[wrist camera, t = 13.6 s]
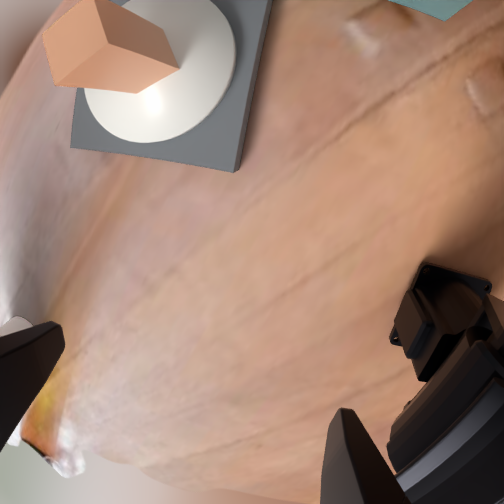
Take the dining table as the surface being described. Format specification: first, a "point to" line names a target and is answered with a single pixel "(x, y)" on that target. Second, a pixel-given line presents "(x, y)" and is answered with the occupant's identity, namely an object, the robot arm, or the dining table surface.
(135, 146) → the slate mat
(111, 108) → the lid
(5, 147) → the dining table surface
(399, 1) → the tray
